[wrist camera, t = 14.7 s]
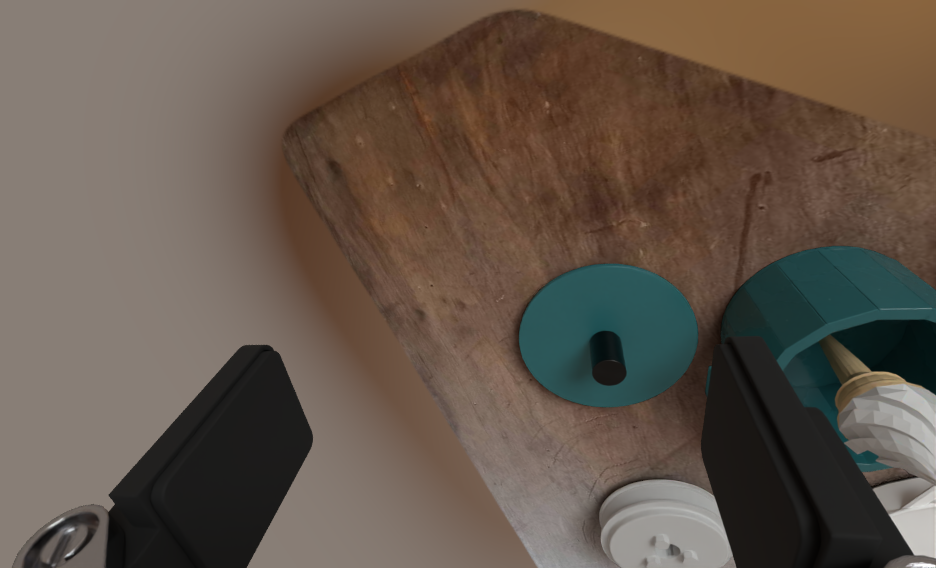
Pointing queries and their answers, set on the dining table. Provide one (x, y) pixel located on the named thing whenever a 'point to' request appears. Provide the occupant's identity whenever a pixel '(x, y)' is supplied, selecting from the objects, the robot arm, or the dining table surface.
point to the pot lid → (608, 335)
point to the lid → (663, 526)
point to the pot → (838, 322)
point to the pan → (912, 512)
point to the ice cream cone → (884, 414)
